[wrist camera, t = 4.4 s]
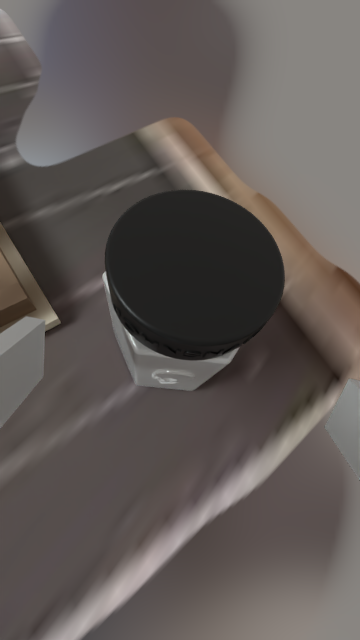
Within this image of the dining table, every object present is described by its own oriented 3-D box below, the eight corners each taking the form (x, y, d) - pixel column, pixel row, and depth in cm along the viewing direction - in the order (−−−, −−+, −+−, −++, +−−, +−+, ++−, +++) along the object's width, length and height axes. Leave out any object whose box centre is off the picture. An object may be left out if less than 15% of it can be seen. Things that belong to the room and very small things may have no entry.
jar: (106, 385, 21) (72, 332, 10) (122, 291, 24) (111, 172, 13) (220, 396, 22) (304, 359, 11) (221, 304, 25) (288, 204, 14)
